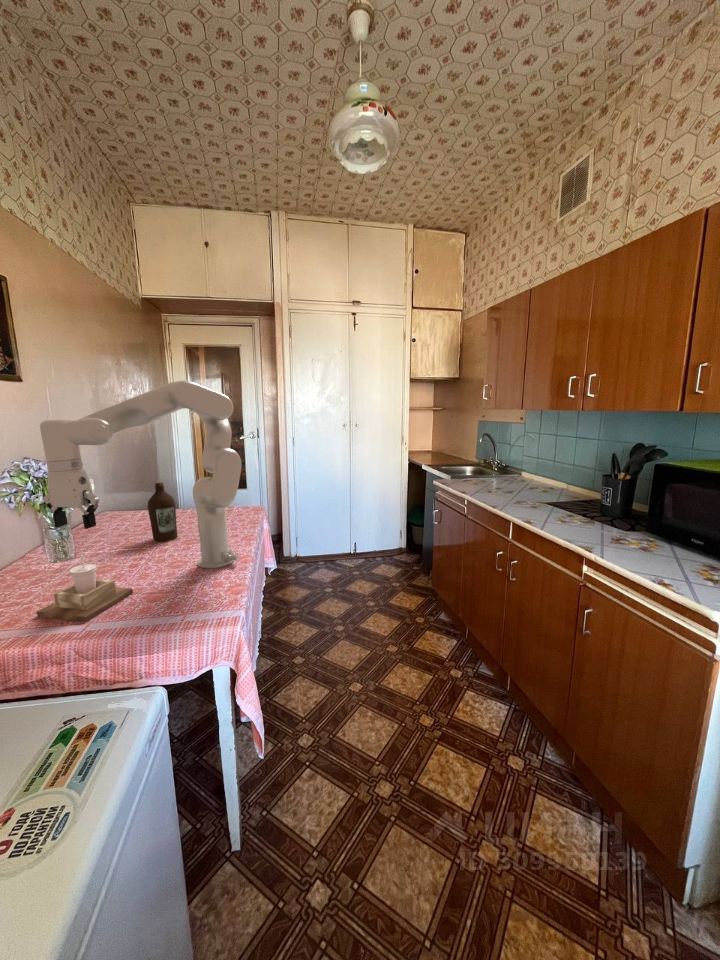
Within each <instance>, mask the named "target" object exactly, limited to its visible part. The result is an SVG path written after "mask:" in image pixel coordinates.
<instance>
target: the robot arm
mask: <svg viewBox="0 0 720 960" xmlns="http://www.w3.org/2000/svg"><path fill="white" fill-rule="evenodd" d="M182 409H188V410H191V411H194V412H195V413H196V415H197V416H198V417H199V418H200V420H201V421H202V422H203V424H204V426H205V440H204V446H203V452H202V455H201V466H202V468H203V470H204V471H206V472H208V473H211V474H212V476H204V477H200V478H199V479H198V480H196V481H195V483H194V485H193V488H192V498H193V502H194V505H195V509H196V515H197V525H198V534H199V545H200V554H201V558H199V559H198V560H197V566H198V567H199V568H201V569H209V570H211V569H212V570H213V569H219V568H220V569H221V568H223V567H226V566H229V565H231V564H232V563H234V561H238V560H239V552H233V549H232V548H231V547H230V546H229V535H228V523H227V520H228V519H227V512H226V508H227V507H230V506H231V505H232V504H233V503H234V501H235V499H236V497H237V493H238V490H239V484H240V477H241V472H242V459H241V456H240V455H239V453H238V452H237V451H236V450H234V449H232V448H231V446H232V445H231V443H232V436H233V433H232V432H233V431H232V426H231V423H230V421H229V418H230V417H231V416H232V415H233V413H234V403H233V400H231V398H229V396H227V395H225V394H223V393H222V392H219V391H217V390H213V389H211V388H208V387H206V386H204V385H203V386H202V385H200V384H198V383H196V382H192V381H189V380H179V381H178V380H177V381H172V382H168V383H166V384H164V385H161V386H159V387H156V388H154V389H151V390H149V391H146V392H143V393H141V394H138V395H136V396H133V397H131V398H128V399H126V400H123V401H121V402H119V403H116V404H113V405H111V406H107V407H106V408H103V409H100V410H99V411H96V412H92V413H90V414H88V415H85V416H82V417H81V418H78V419H77V420H69V419H50V420H43V421H41V422H40V425H39V430H40V435H41V440H42V441H41V442H42V447H43V451H44V457H45V462H46V467H47V490H48V491H47V492H48V493H47V494H46V495H44V496H43V497H42V498H43V499H42V500H43V501H44V502H45V504H46V507H47V508H48V509H49V512H50V513H51V514H52V519H53V524H54V528H61V527H64V526H67V525H68V519H67V511H66V510H64V509H65V508H66V509H67V508H68V509H79V510H80V511H81V512H82V513H83V514H82V516H81V517H82V523H83V528H84V529H85V530H88V529H91V528H93V527H96V526H97V520H96V514H95V513H96V512H97V509H98V507H99V502H100V498H99V496H96V495H95V494H94V492H93V488H92V485H91V482H90V478H89V475H88V473H87V471H86V469H84V463H83V461H82V460H83V459H82V454H81V449H80V446H102V445H104V444H107V443H108V442H110V441H111V439H112V438H113V436H114V435H113V434H114V433H118V432H121V431H123V430H127V429H130V428H134V427H135V428H136V427H140V426H141V427H142V426H145V425H148V424H150V423H154V422H155V421H157V420H160V419H161V418H164V417H166V416H168V415H170V414H173V413H175V412H177V411H179V410H182Z"/></svg>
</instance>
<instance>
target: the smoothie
mask: <svg viewBox="0 0 720 960" xmlns="http://www.w3.org/2000/svg"><path fill="white" fill-rule="evenodd" d="M80 561H81V564H80V565H77V566H74V567H72V568H71V569H70V570H69V576H71V578H72V581H73V584H74V585H75V588H76V591H77V593H78V594H85V593H87V592H89V591H91V590H93V589H95V588H96V579H97V570H98V568H97V564H96V563H95V564H94V563H85V559H84V553H81V554H80Z"/></svg>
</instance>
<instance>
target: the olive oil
mask: <svg viewBox="0 0 720 960" xmlns="http://www.w3.org/2000/svg"><path fill="white" fill-rule="evenodd" d="M154 489H155V491H154V493H153V494H152V496H151V497H150V498H149V499H148V501H147V510H148V511H147V512H148V516H149V522H150V528H151V533H152V539H153V542H155V541H156V542H155V543H164V541H166V542H170V540H171V541H172V540H173V539H174V540H175V538H176V539H177V538H178V528H177V527H178V524H177V512H176V501H175V499H174V497H173V496H172V495H170V494H169V493H168V492H167V491H165V485H164V482H163V481H157V482H154Z"/></svg>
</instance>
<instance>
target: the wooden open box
mask: <svg viewBox="0 0 720 960" xmlns="http://www.w3.org/2000/svg"><path fill="white" fill-rule="evenodd" d="M115 582H116V581H115V580H114V579H101V578H96V588H95V589H93V590H91V591H89V592H87V593H85V594H78V593H77V591H76V588H75V585H74V583H73V584H71V585H69V586H67V587H64V588H63V589H61V590H59V591H56V592H54V593H53V596H54V597H53V598H54V602H52V603H51V604H48V605H47V606H45V607H43V608H41V609H39V610H36V614H37V615H36V616H37V617H38V616H43V617H42V618H46V617H49V618H48V619H54V618H56V620H63V619H64V620H66V621H72V620H75V621H74V622H81V621H84V622H83V623H87V622H89V621H91V620H92V619H94V618H95V617H97V616H100V615H101V614H102V613H104V612H105V611H107V610H108V609H110V608H112V607H113V606H115V605H117V604H119V603H120V602H122V601H123V600H125V599H127V598H128V597H129V595H130V596H131V595H133V594H134V591H133V590H134V589H133V588H126V587H116V584H115ZM132 593H133V594H132ZM124 598H125V599H124ZM121 600H122V601H121ZM90 619H91V620H90ZM88 620H89V621H88Z"/></svg>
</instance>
